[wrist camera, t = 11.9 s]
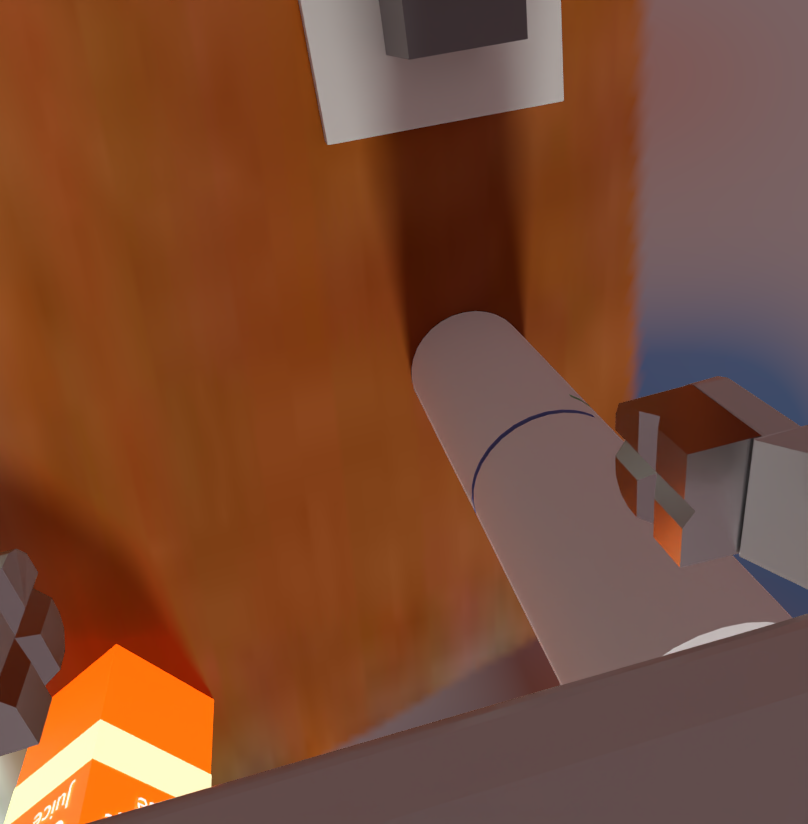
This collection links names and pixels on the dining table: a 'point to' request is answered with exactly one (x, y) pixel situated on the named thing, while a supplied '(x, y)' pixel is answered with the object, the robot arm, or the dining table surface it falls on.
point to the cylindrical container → (567, 509)
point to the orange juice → (115, 744)
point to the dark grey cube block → (449, 25)
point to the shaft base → (422, 72)
